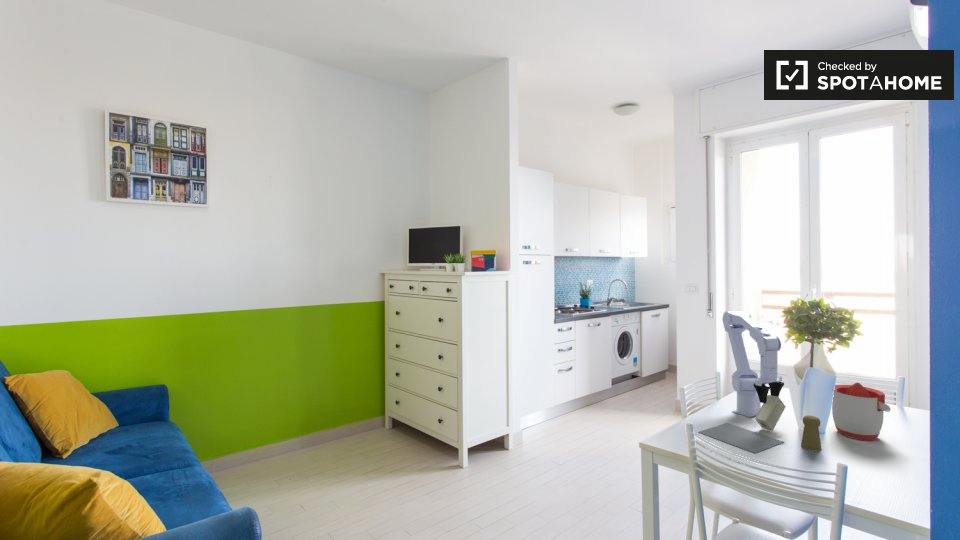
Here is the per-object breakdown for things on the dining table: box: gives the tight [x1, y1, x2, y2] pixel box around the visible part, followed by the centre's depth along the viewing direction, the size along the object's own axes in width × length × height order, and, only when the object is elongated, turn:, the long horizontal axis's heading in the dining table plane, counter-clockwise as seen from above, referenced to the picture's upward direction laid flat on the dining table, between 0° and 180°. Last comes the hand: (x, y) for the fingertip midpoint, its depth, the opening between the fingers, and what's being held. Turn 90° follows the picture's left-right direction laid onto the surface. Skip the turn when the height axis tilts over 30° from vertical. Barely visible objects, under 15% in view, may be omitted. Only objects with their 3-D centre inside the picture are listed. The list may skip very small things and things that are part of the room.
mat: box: [698, 422, 785, 455], centre depth 177 cm, size 18×22×1 cm
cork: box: [800, 415, 822, 451], centre depth 167 cm, size 6×6×11 cm
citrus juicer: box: [831, 382, 891, 441], centre depth 176 cm, size 16×17×20 cm
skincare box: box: [754, 394, 786, 432], centre depth 184 cm, size 6×4×12 cm
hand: (768, 401), depth 186 cm, fingers open, 7 cm apart
